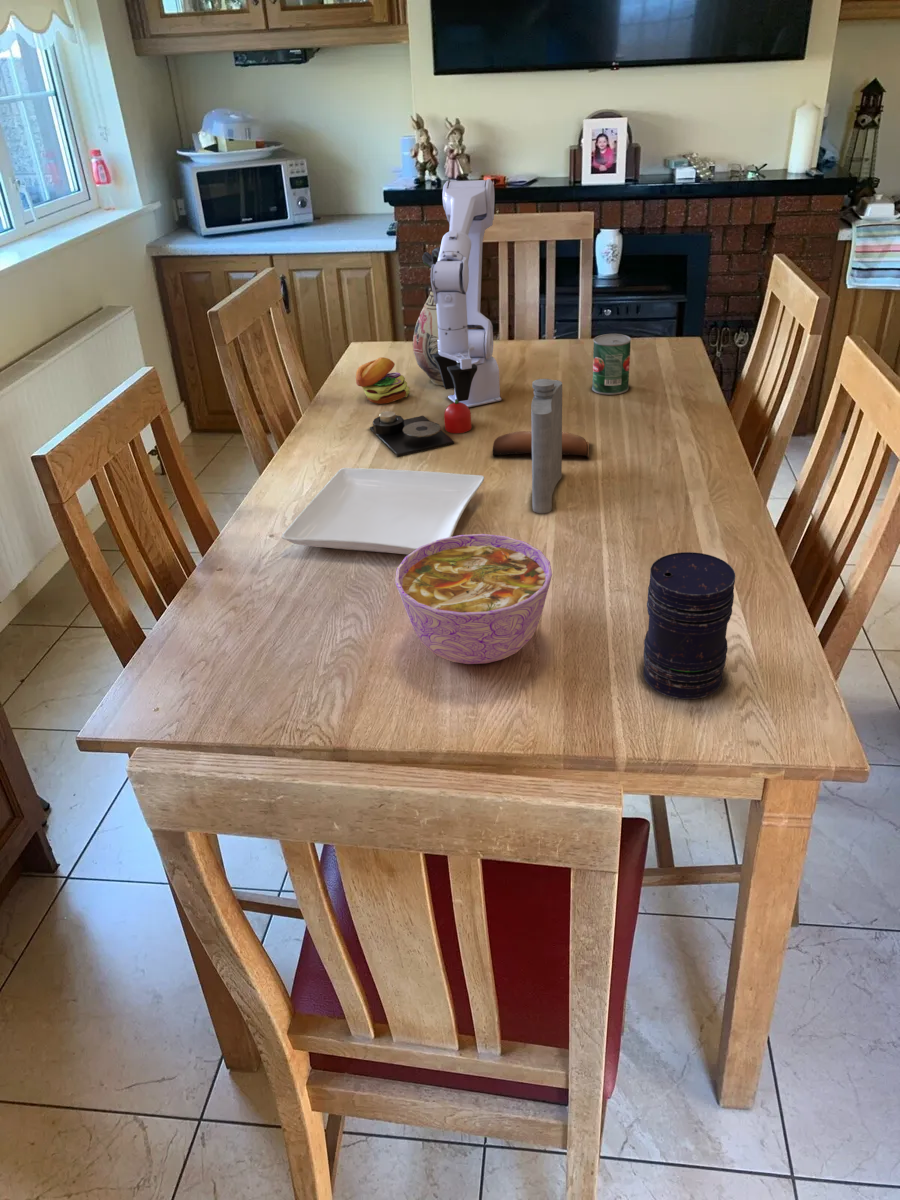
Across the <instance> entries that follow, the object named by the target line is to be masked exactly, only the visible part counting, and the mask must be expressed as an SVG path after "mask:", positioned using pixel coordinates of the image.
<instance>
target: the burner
mask: <svg viewBox="0 0 900 1200" xmlns="http://www.w3.org/2000/svg"><path fill="white" fill-rule="evenodd" d="M429 421H430V420H429ZM429 421H421V422H414V423H411V424H408V425H406V426H405V427H404V428H403V433H404V434H405V435H407V436H411V437H427V436H432V435H435V434H437V433H438V432H439V431H440V430H441V429H442V427H441V425H440V424H439V423H437V422H434V421H430V422H429ZM441 431H442V430H441Z"/></svg>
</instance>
